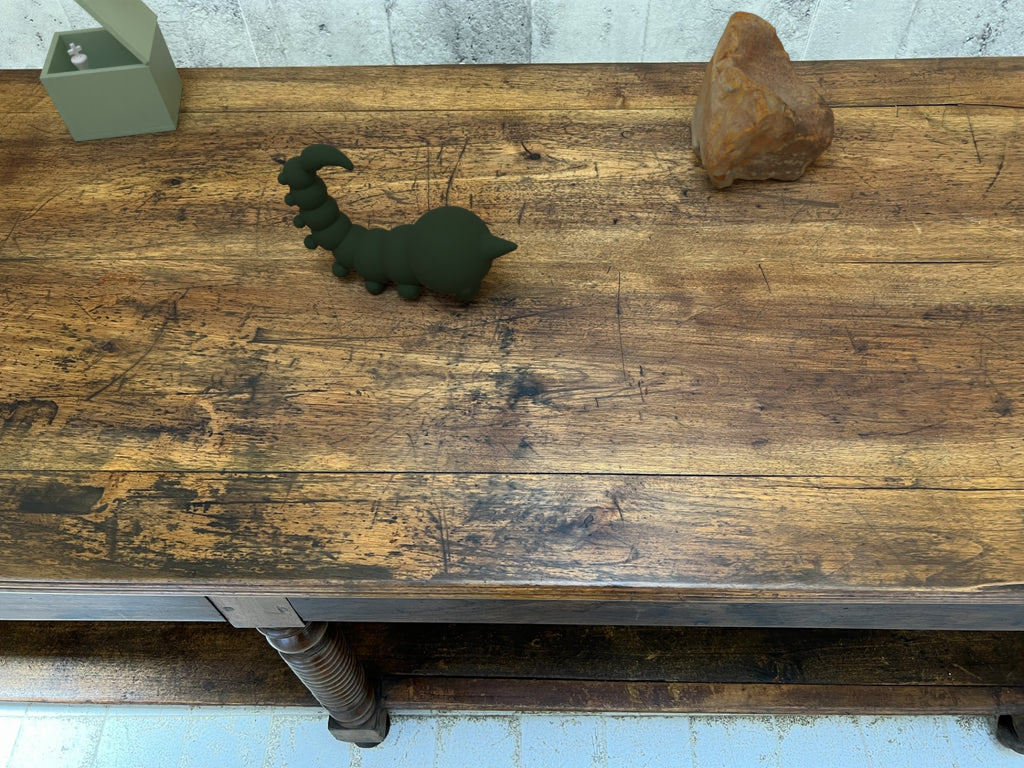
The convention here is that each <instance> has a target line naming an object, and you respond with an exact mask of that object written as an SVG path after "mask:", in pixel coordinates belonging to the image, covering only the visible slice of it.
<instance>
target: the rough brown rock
mask: <svg viewBox="0 0 1024 768" xmlns="http://www.w3.org/2000/svg"><path fill="white" fill-rule="evenodd" d="M777 33H778V32H777V29H776V27H775V26H774V25H773V24H771V22H769V21H768V20H766V19H764V18H763V17H761V16H759V15H758V14H756V13H752V12H748V11H744V10H739V11H735V12H734V13H732V14H731V15H730V17H729V19H728V21H727V23H726V26H725V28H724V30H723V33H722V35H721V36H720V38H719V39H718V41H717V44H716V47H715V49H714V51H713V53H712V56H711V58H710V60H709V61H708V64H707V66H706V68H705V71H704V74H703V78H702V82H701V84H700V88H699V91H698V95H697V99H696V102H695V104H694V106H693V109H692V115H691V121H690V131H691V149H692V152H693V154H694V155H695V156H697V158H699V159H700V160H701V165H702V166H703V169H704V170H706V172H707V175H708V177H709V180H710V182H711V184H712V185H713V187H716V188H717V189H722V188H726V187H730V186H732V184H733V182H734V181H735V180H737V179H742V180H746V181H747V180H748V181H754V180H755V181H756V180H757V181H758V180H760V181H763V180H769V179H771V178H772V179H775V180H780V181H793V182H794V181H796V180H797V179H799V178H800V177H802V176H803V175H804V174H805V173H806V171H807V170H808V169H809V168H810V166H811V164H812V163H813V162H815V161H816V160H817V159H818V158H819V157H820V156H821V155H822V154H823V153H825V151H826V150H828V149H829V148H830V146H831V145H832V143H833V140H834V136H835V114H834V111H833V109H832V108H831V106H830V104H829V103H828V102H827V101H826V99H825V98H824V97H823V96H822V94H821V93H820V92H819V91H818V89H816V88H815V87H814V86H813V85H812V84H808V83H807V82H806V81H805V80H804V79H802V78H801V77H800V76H798V74H797V73H796V71H795V69H794V67H793V65H792V62H791V57H790V55H789V53H788V52H787V51H786V49H785V47H784V43H783V42H782V41H781V39H780V38H779V36H778V34H777Z"/></svg>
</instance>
